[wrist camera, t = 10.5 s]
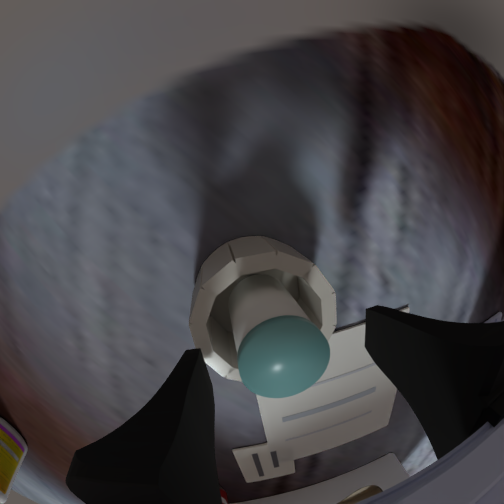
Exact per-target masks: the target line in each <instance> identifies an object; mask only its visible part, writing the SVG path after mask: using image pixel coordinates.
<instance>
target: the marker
mask: <svg viewBox="0 0 504 504" xmlns="http://www.w3.org/2000/svg"><path fill="white" fill-rule="evenodd" d="M228 306H229V313H230V318H231V324H232V329H233V335H234V340H235V345H236V350H237V363H238V369H239V374H240V377H241V380H242V382H243V383H244V385H245V386H246V387H247V388H248V389H249V390H250V391H252V392H253V393H255V394H257V395H260V396H263V397H267V398H284V397H289V396H293V395H296V394H298V393H301V392H303V391H305V390H306V389H308V388H309V387H311V386H312V385H313V384H314V383H316V382H317V381H318V380H319V379H320V377H321V376H322V375H323V373H324V372H325V370H326V368H327V366H328V363H329V360H330V346H329V343H328V341H327V339H326V337H325V336H324V335H323V333H322V332H321V331H320V330H319V328H318V327H317V326H316V325H315V324H314V323H313V322H311V320H310V319H309V318H308V316H307V315H306V314H305V312H304V311H303V310H302V309H301V307H300V306H299V305H298V303H297V302H296V301H295V299H294V298H293V297H292V296H291V294H290V293H289V292H288V290H287V289H286V288H285V286H284V285H283V284H282V283H281V282H280V281H279V280H278V279H276V278H274V277H272V276H269V275H263V274H253V275H249V276H247V277H245V278H243V279H242V280H240V281H239V282H238V283H237V284H236V286H235V287H234V289H233V290H232V292H231V294H230V297H229V303H228Z"/></svg>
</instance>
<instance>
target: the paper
mask: <svg viewBox="0 0 504 504" xmlns="http://www.w3.org/2000/svg"><path fill="white" fill-rule="evenodd" d="M399 311H403V312H406V313H409V307H406V308H403V309H401V310H399ZM365 325H366V322H364V323H361V324H358V325H355V326H352V327H349V328H345V329H342V330H339V331H336V332H333V333H332V335H331V337H330V339H329V341H328V343H329V346H330V360H329V363H328V366H327V368H326V370H325V372H324V373H323V375H322V376H321V377H320V379H319V380H318V381H317V382H316V383H314V384H313V385H312V386H311V387H309V388H308V389H306V390H305V391H303V392H301V393H298V394H296V395H293V396H289V397H284V398H267V397H263V396H260V395H257V394H256V396H257V401H258V405H259V409H260V414H261V418H262V422H263V426H264V431H265V435H266V439H267V443H268V447H269V451H270V452H273V451H276V453H277V458H278V463H279V464H280V463H284V462H288V461H292V460H293V459H294V460H296V459H299V458H303V457H306V456H310V455H313V454H316V453H319V452H323V451H326V450H329V449H332V448H334V447H337V446H340V445H343V444H345V443H348V442H351V441H353V440H356V439H358V438H361V437H363V436H365V435H368V434H370V433H372V432H375V431H377V430H379V429H381V428H383V427H385V426H388V423H389V419H390V416H391V412H392V408H393V404H394V400H395V396H396V391H397V388H396V387H395V386H394V384H393V383H392V382H391V381H390V380H389V379H388V378H387V377H386V375H385V374H384V373H383V372H382V371H381V370H380V368H379V367H378V366H377V365H376V364H375V363H374V361H373V360H372V358H371V357H370V355H369V353H368V352H367V350H366V348H365V347H364V346H365ZM270 455H271V453H270ZM291 456H292V457H291ZM271 459H272V457H271ZM272 463H273V461H272Z"/></svg>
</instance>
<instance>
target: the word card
mask: <svg viewBox="0 0 504 504" xmlns="http://www.w3.org/2000/svg"><path fill="white" fill-rule="evenodd" d="M232 451H233V454H234V456H235V458H236V460H237V463H238V465H239V467H240V469H241V472H242V474H243V476H244V478H245V480H246V482H247V483H250V482H256V481H261V480H266V479H271V478H275V477H280V476H284V475H288V474H292V473H295V465H294V459H293V460H292V461H288V462H284V463H280V464H279V463H278V458H277V453H276V451H273V452H270V451H269V447H268V443H263V444H259V445H254V446H248V447H243V448H237V449H232ZM270 453H271V455H270ZM271 457H272V459H271ZM291 457H292V456H291ZM272 461H273V463H272Z"/></svg>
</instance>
